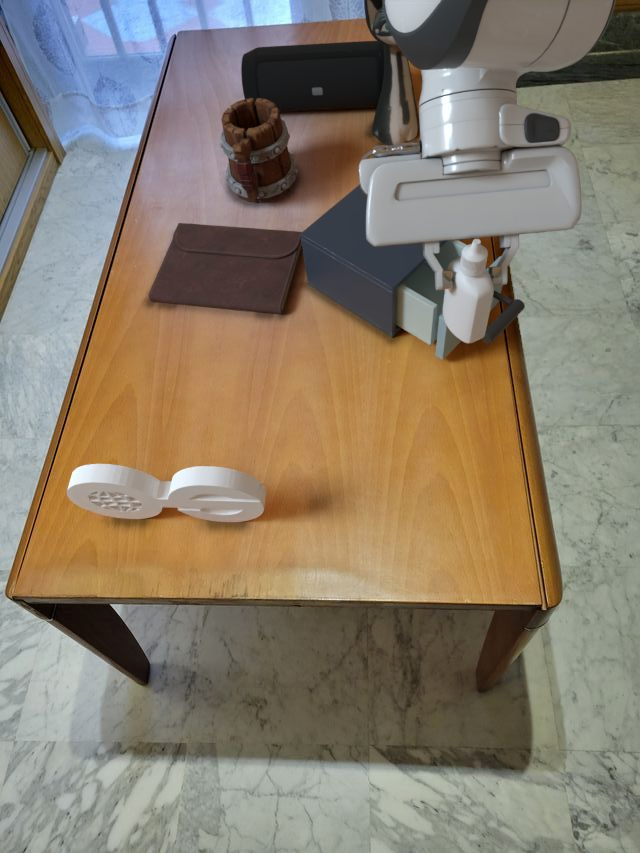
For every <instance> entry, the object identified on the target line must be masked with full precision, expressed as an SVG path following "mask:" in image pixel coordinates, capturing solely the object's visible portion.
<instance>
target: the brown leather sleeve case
mask: <svg viewBox="0 0 640 853" xmlns="http://www.w3.org/2000/svg"><path fill="white" fill-rule="evenodd" d="M302 232H303V231H297V230H295V231H294V230H283V229H268V228H253V227H243V226H242V227H240V226H239V227H238V226H226V225H214V224H198V223H187V222H186V223H184V222H178V223H177V226H176V228H175V230H174V232H173V235H172V240H171V242H170V244H169V246H168V249H167V251H166V254H165V255H164V258H163V260H162V262H161V265H160V267H159V269H158V272H157V274H156V277H155V279H154V281H153V283H152V286H151V287H150V290H149V293H148V299H149V301H150V302H153V303H164V304H171V305H172V304H173V305H182V306H183V305H184V306H194V307H204V308H213V309H222V310H223V309H224V310H236V311H243V312H244V311H245V312H253V313H254V312H255V313H266V314H276V315H283V314H284V311H285V307H286V304H287V300H288V297H289V293H290V291H291V287H292V284H293V280H294V277H295V273H296V270H297V267H298V265H299V264H298V262H299V260H300V257H301V253H302V251H303V248H302V242H301V236H300V233H302Z"/></svg>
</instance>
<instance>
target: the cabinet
mask: <svg viewBox="0 0 640 853" xmlns="http://www.w3.org/2000/svg"><path fill="white" fill-rule="evenodd" d="M366 205H367V196H366V195H365V194H364V193H363V192H362V190H361V188H360V184H358V185H357V186H356V187H354V188H353V189H352V190H350V192H348V193H347V194H346V195H345V196H343V197H342V198H341V199H340V200H339V201H338V202H336V203H335V204H334V205H333V206H331V208H329V209H328V210H327V211H326V212H324V213H323V214H322V215H321V216H320V217H319V218H317V219H316V220H315V221H314V222H312V223H311V224H310V225H309V226H308V227H306V228H305V229H304V230H302V231H301V232H302V233H300V236H301V242H302V253H303V260H304V267H305V268H304V269H305V274H306V279H307V285H308V286H310V287H311V288H313V289H314V290H316V291H318V292H319V293H320V294H322V295H324V296H325V297H326V298H328V299H330V300H332V301H333V302H334V303H336V304H338V305H339V306H341V307H343V308H344V309H346V310H347V311H349V312H350V313H352V314H354V315H355V316H356V317H359V318H360V319H361V320H363V321H365V323H368V324H370V325H371V326H372V327H374V328H376V329H377V330H379V331H380V332H382V333H384V334H385V335H387V336H389V337H390V338H394V337H395V335H397V334H398V333H399V332H400V331H401V330H402V329H403V328H401V327H399V326H398V325H396V289H397V288H398V287H399V286H400V285H401V284H402V283H403V282H404V281H406V280H407V279H408V278H409V277H410V276H411V275H412V274H413V273H414V272H415V271H416V270H417V269H418V268H419V267H420V266H421V265H423V264H424V263H425V262H426V261H427V260H426V259H425V257H424V256H423V244H422V243H414V244H402V245H391V246H379V247H374V246H372V245H371V244H370V243H369V242H368V241H367V239H366ZM446 242H447V241H439V244H440V248H441V247H442V246H443V245H444V244H445V243H446Z"/></svg>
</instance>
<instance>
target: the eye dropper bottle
mask: <svg viewBox="0 0 640 853" xmlns="http://www.w3.org/2000/svg"><path fill="white" fill-rule="evenodd" d="M481 242H482V241H481V239H480V238H473V240H472V242H471V243H470V244H466V245H467V246H466V247H464V248H463V250H462V254H461V257H459V258H457V259H455V260H453V261H452V262H450V264H449V266H448V270H450V271H452V279H451V281H452V282H453V286H452V289H445V294H444V303H443V317H444V320H445V323H446V325H447V327H448V328H449V330H450V331H451V332H452V333H453V334H454V335H455V336H456V337H457V338H458V339H460V340H461V342H463V343H465V344H472V343H475V342H477V341H479V340H482V338H483V337H484V336H485V332H486V329H487V328H488V322H489V317H490V313H491V311H490V309H491V304H492V299H493V293H494V288H493V283H492V279H491V277H490V274H489V272H488V271H487V269H488V268H486V267H487V263H488V262H487V261H488V256H489V252H488V249H487V248H486V246H483V244H482V243H481Z"/></svg>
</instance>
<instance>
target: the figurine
mask: <svg viewBox="0 0 640 853" xmlns="http://www.w3.org/2000/svg"><path fill="white" fill-rule="evenodd" d="M363 4H364V6H363V7H364V16H365V17H364V18H365V22H366V26H367V28H368V30H369V33H370V34H371V37H373V39H374V40H375V41H378V42H380V43H381V44H383V45H384V58H385V60H384V78H383V84H382V90H381V94H380V98H379V102H378V106H377V107H376V110H375V113H374V117H373V122H372V126H371V134H372V136H374V137H375V138H376V139H377V140H378V141H379V142H381V143H382V145H387V146H388V145H396V144H397V145H398V144H401V143H407V142H412V141H413V140H415V139H416V137H417V136H418V132H419V130H420V120H419V110H418V106H417V102H416V101H417V100H416V96H415V91H414V90H415V89H414V85H413V84H414V83H413V77H412V72H411V71H412V70H411V67H410V62H409V60H408V59H407V58H406V57H405V56H404V54H403V53H402V51H401V50H400V48H399V47H398V45H397V44H396V42H395V40H394V38H393V37H392V34H391V32H390V30H389V28H388V25H387V22H386V19H385V16H384V11H383V3H382V0H363Z"/></svg>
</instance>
